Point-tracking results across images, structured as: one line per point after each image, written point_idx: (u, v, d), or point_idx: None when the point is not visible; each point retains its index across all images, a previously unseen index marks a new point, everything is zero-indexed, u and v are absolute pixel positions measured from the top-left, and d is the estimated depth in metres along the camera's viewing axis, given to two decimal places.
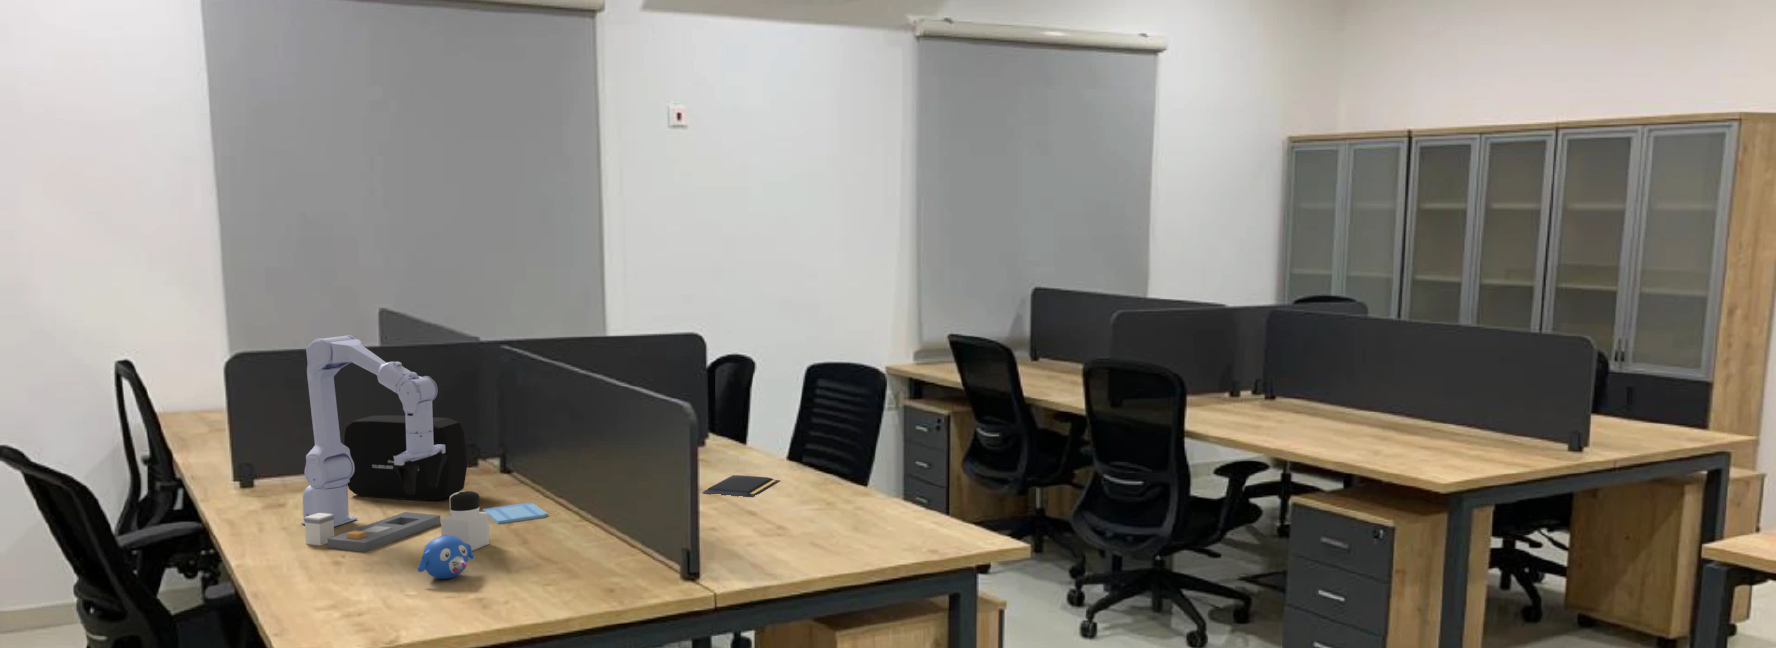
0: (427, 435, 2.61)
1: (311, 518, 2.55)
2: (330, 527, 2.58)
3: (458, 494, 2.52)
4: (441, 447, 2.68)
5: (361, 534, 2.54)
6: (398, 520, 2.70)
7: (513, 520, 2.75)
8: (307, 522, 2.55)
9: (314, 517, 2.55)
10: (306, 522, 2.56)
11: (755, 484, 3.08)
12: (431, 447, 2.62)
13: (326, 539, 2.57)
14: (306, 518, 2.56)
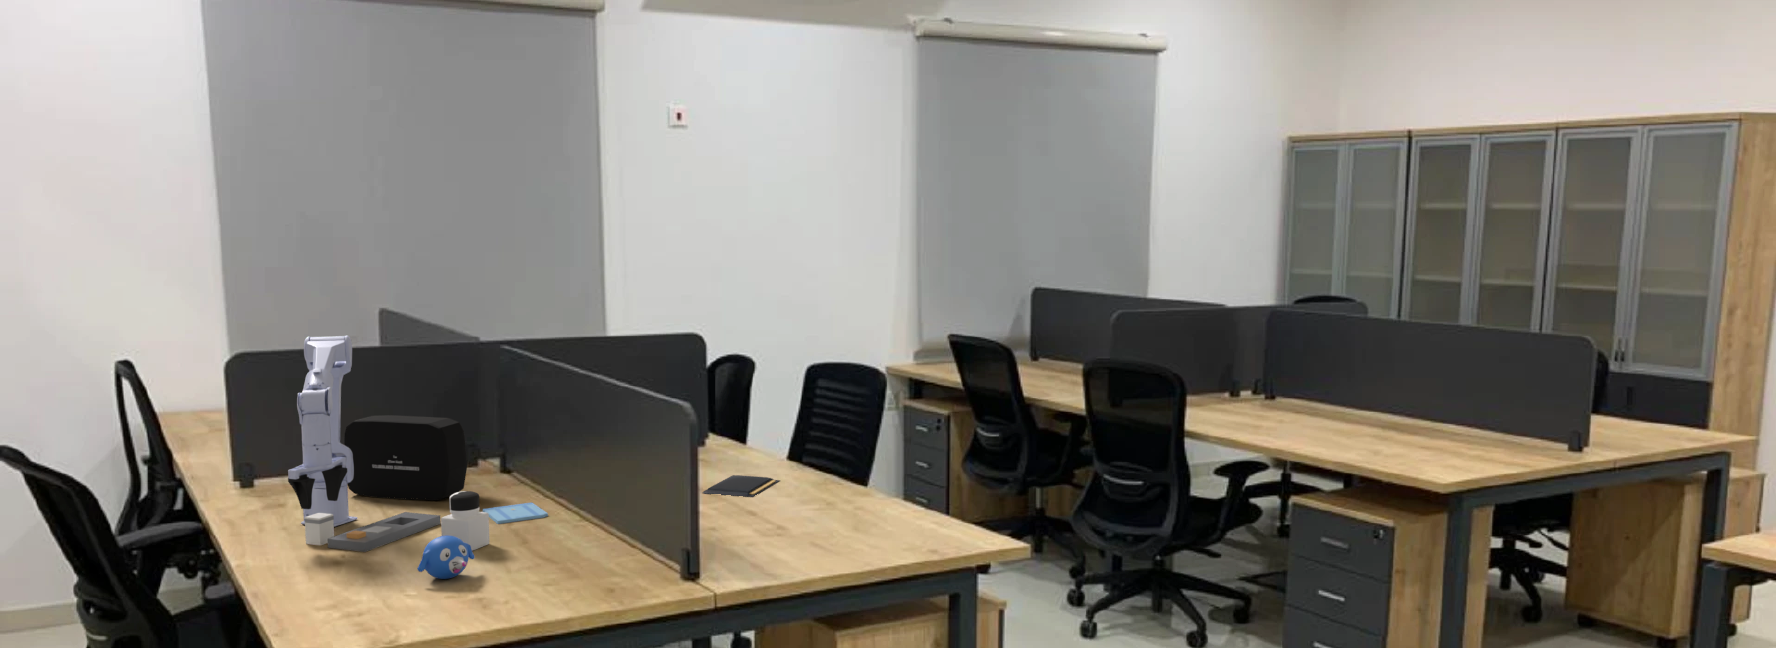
0: (324, 448, 2.54)
1: (311, 518, 2.55)
2: (330, 527, 2.58)
3: (458, 494, 2.52)
4: (341, 460, 2.61)
5: (361, 534, 2.54)
6: (398, 520, 2.70)
7: (513, 520, 2.75)
8: (307, 522, 2.55)
9: (314, 517, 2.55)
10: (306, 522, 2.56)
11: (755, 484, 3.08)
12: (329, 460, 2.55)
13: (326, 539, 2.57)
14: (306, 518, 2.56)
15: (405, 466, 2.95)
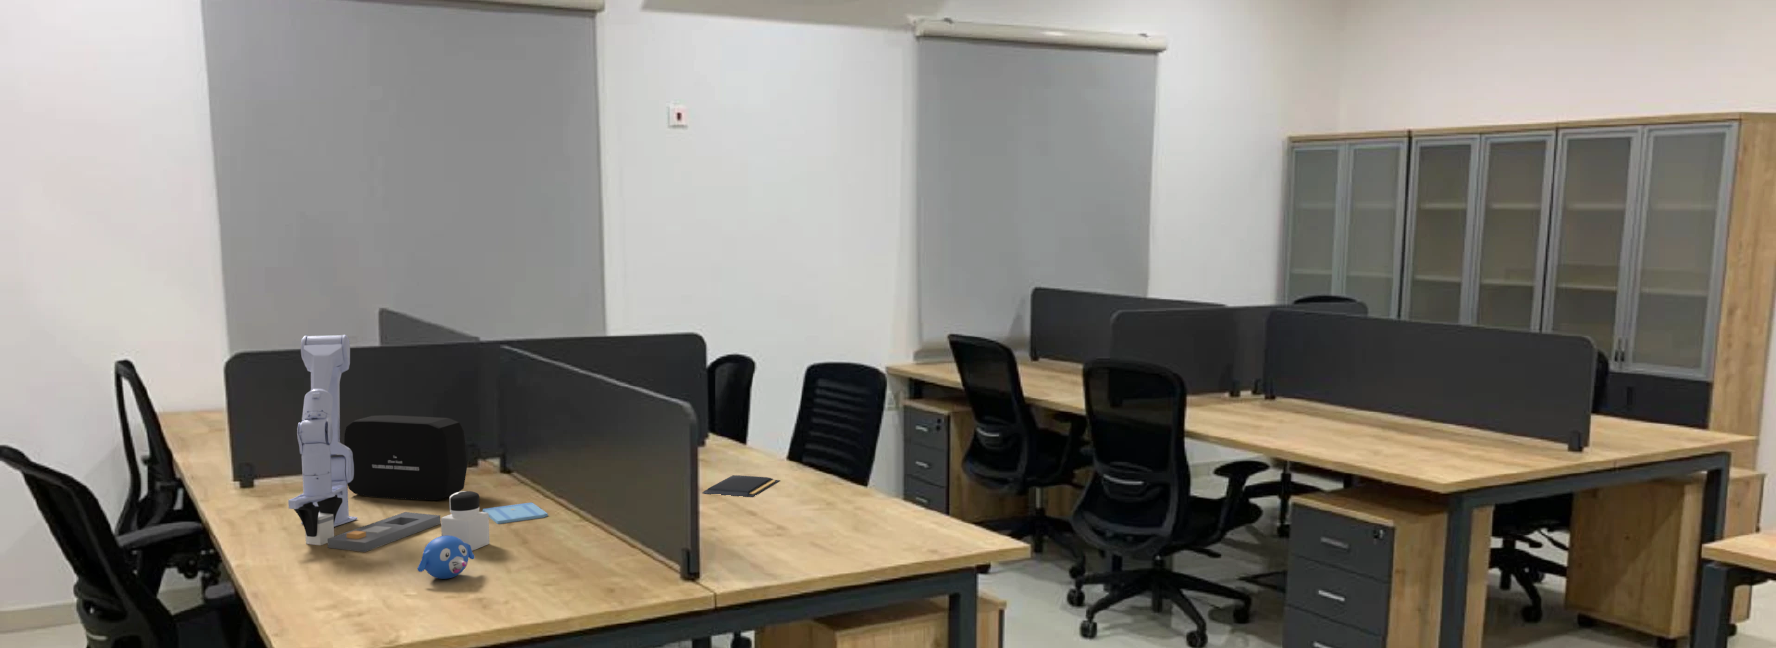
0: (324, 477, 2.55)
1: None
2: (330, 527, 2.58)
3: (458, 494, 2.52)
4: (341, 488, 2.61)
5: (361, 534, 2.54)
6: (398, 520, 2.70)
7: (513, 520, 2.75)
8: None
9: None
10: None
11: (755, 484, 3.08)
12: (329, 489, 2.56)
13: (326, 539, 2.57)
14: None
15: (405, 466, 2.95)
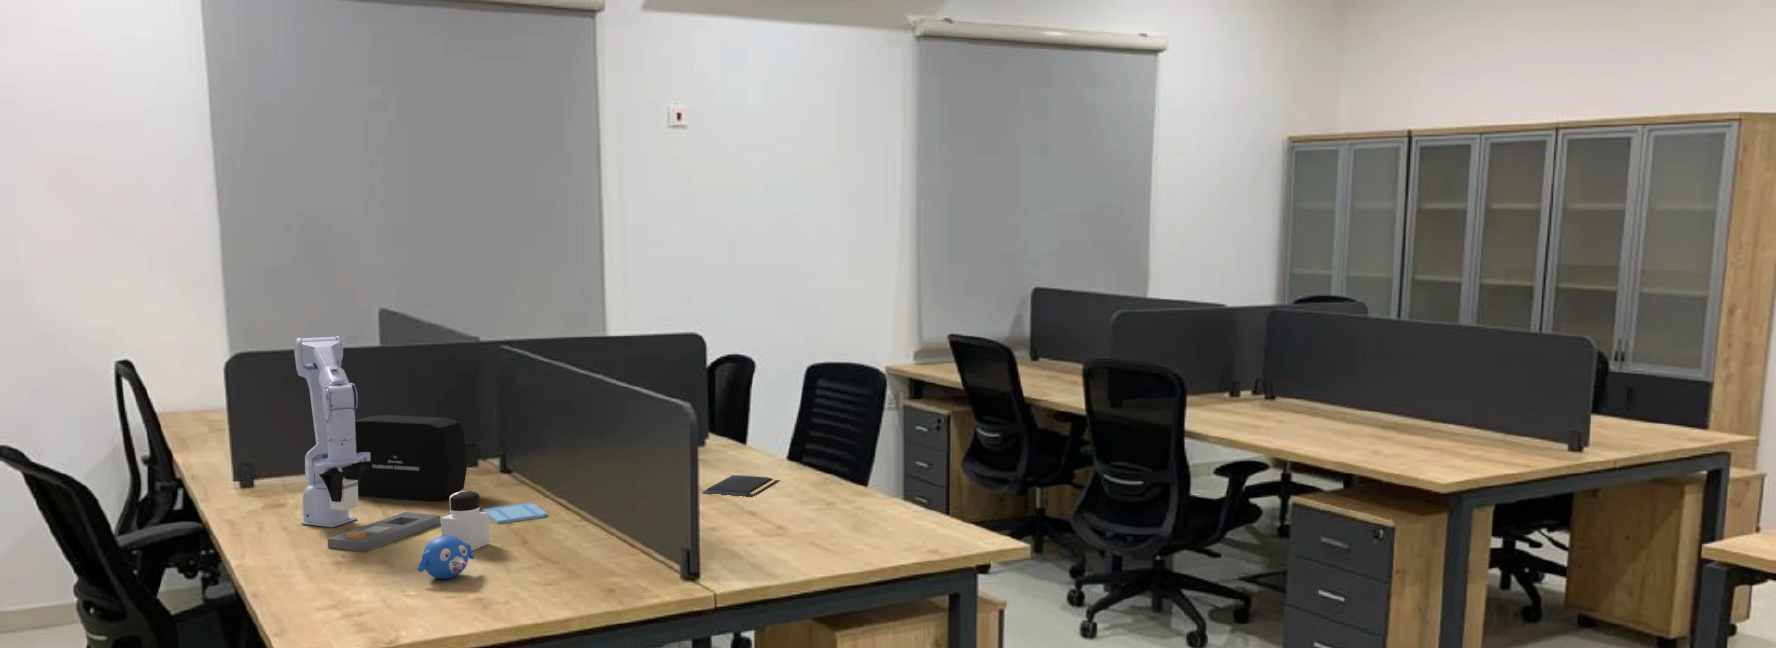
0: (349, 443, 2.57)
1: None
2: (354, 493, 2.60)
3: (458, 494, 2.52)
4: (365, 455, 2.64)
5: (361, 534, 2.54)
6: (398, 520, 2.70)
7: (513, 520, 2.75)
8: None
9: None
10: None
11: (755, 484, 3.08)
12: (353, 455, 2.58)
13: (350, 504, 2.59)
14: None
15: (405, 466, 2.95)
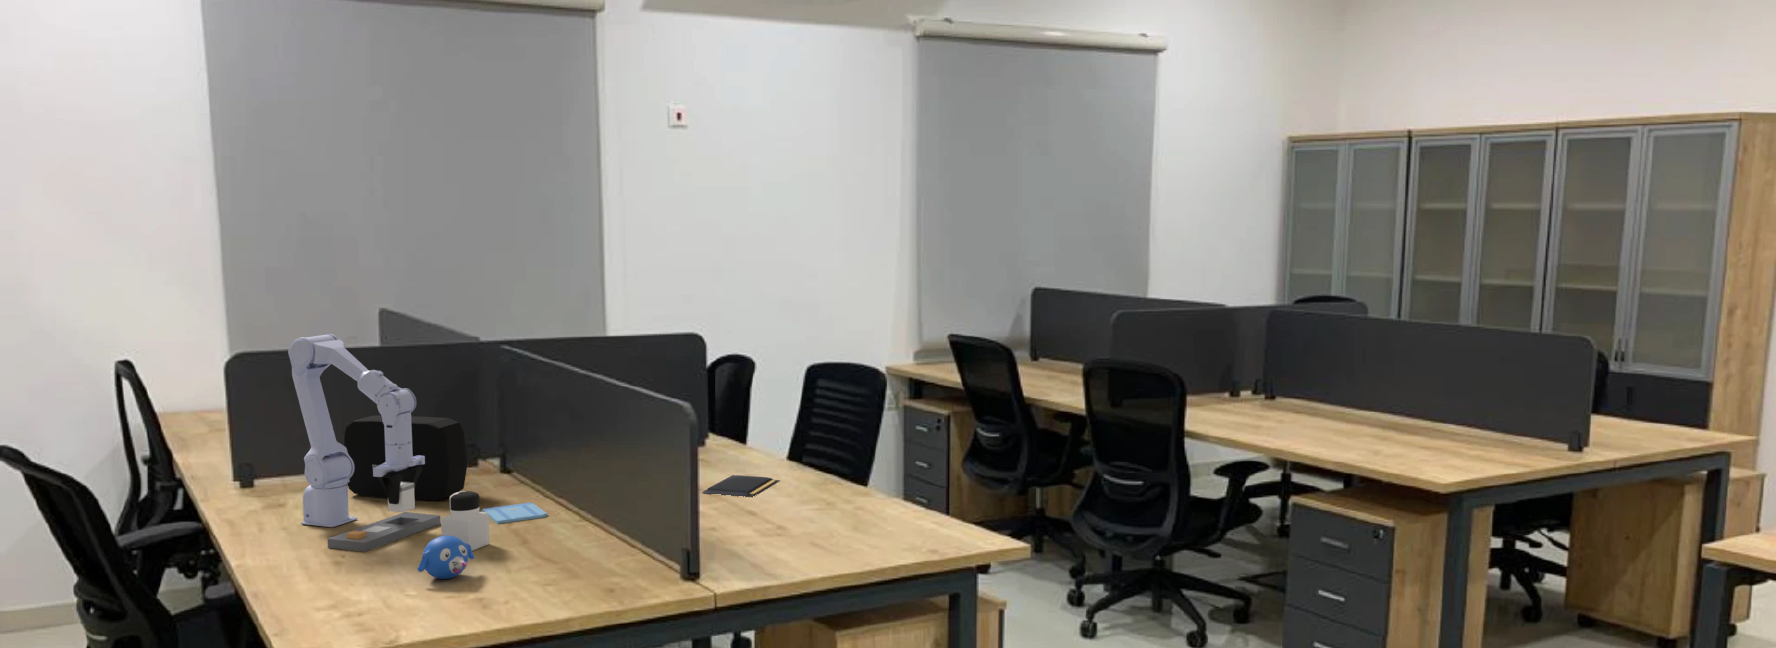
0: (406, 447, 2.64)
1: None
2: (411, 495, 2.67)
3: (458, 494, 2.52)
4: (420, 458, 2.71)
5: (361, 534, 2.54)
6: (398, 520, 2.70)
7: (513, 520, 2.75)
8: None
9: None
10: None
11: (755, 484, 3.08)
12: (410, 458, 2.66)
13: (408, 506, 2.66)
14: None
15: None
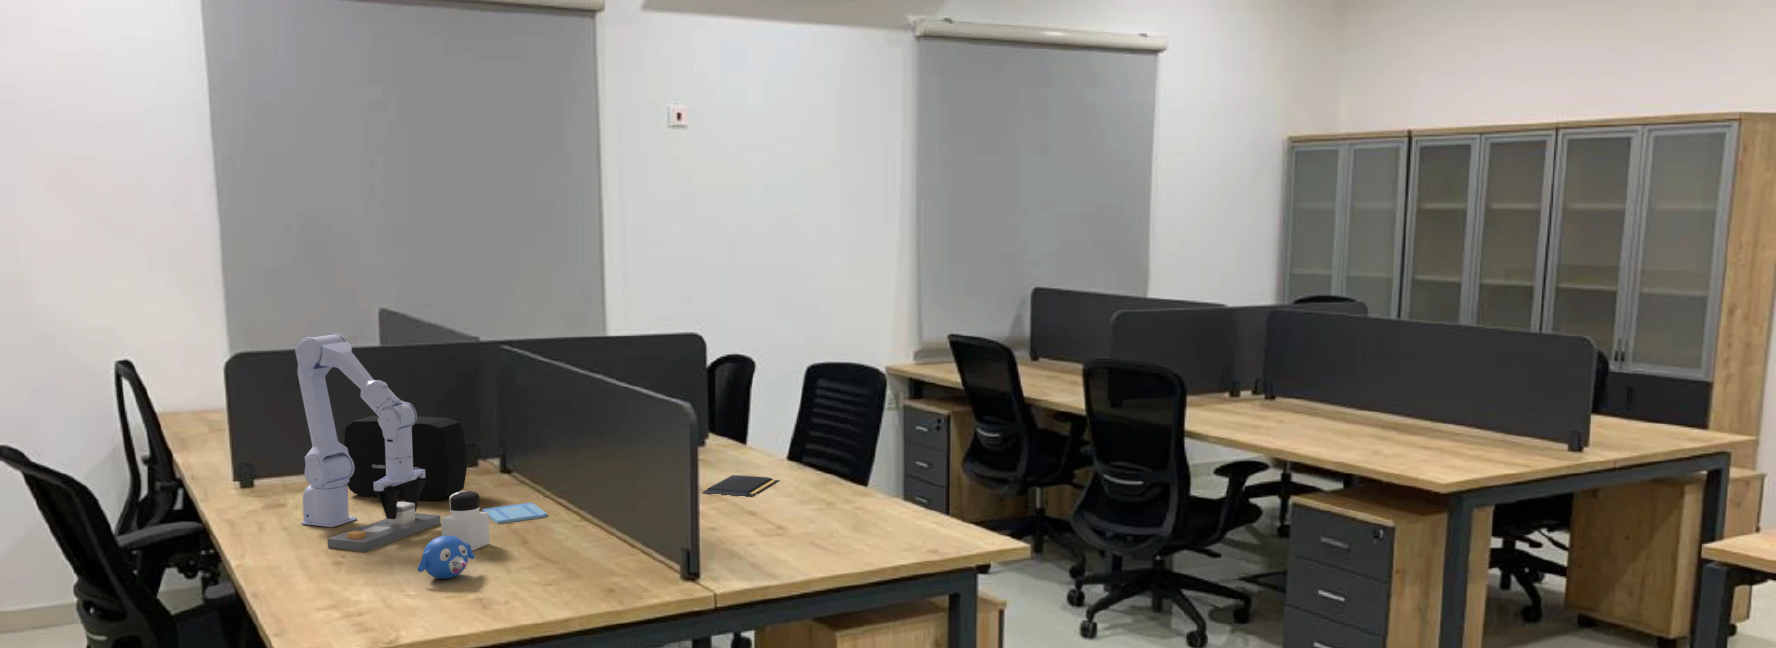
0: (406, 461, 2.65)
1: None
2: (411, 515, 2.68)
3: (458, 494, 2.52)
4: (421, 472, 2.71)
5: (361, 534, 2.54)
6: None
7: (512, 520, 2.75)
8: None
9: (397, 505, 2.66)
10: None
11: (755, 484, 3.08)
12: (410, 472, 2.66)
13: None
14: None
15: None
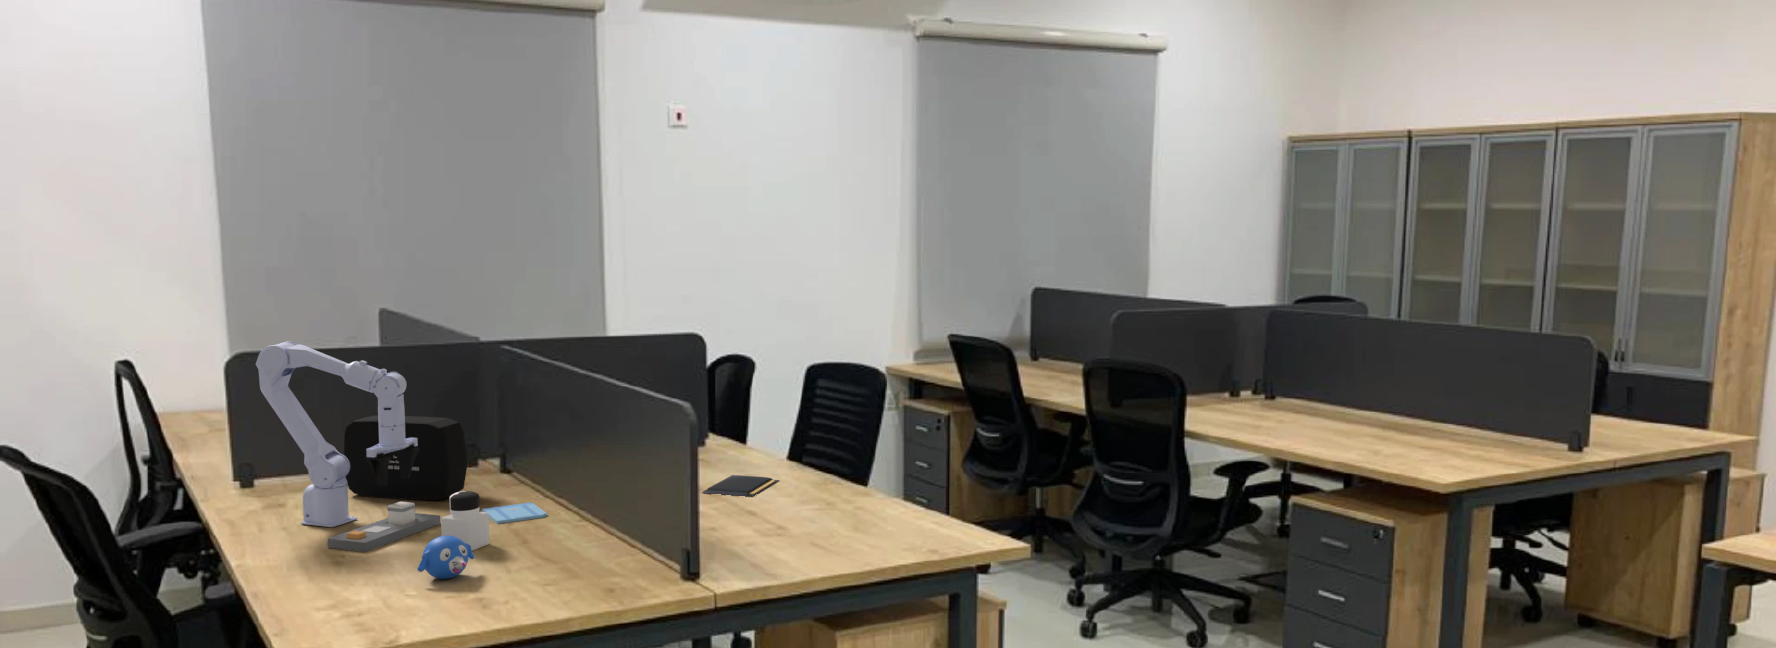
0: (399, 428, 2.72)
1: (394, 506, 2.65)
2: (411, 515, 2.68)
3: (458, 494, 2.52)
4: (413, 440, 2.79)
5: (361, 534, 2.54)
6: None
7: (512, 520, 2.75)
8: (390, 511, 2.66)
9: (397, 506, 2.66)
10: (389, 511, 2.66)
11: (755, 484, 3.08)
12: (403, 440, 2.73)
13: None
14: (389, 506, 2.66)
15: None
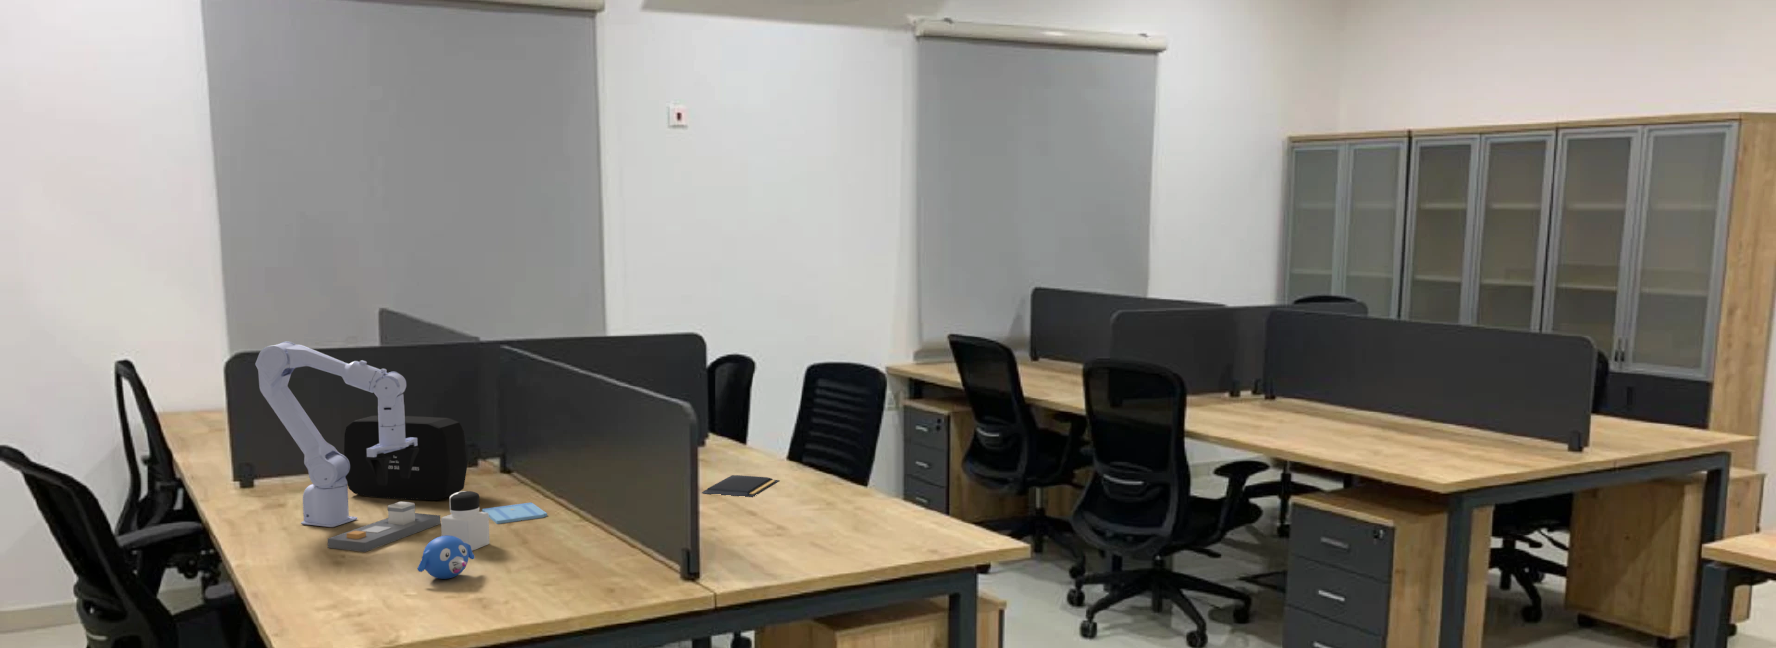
0: (399, 428, 2.72)
1: (394, 506, 2.65)
2: (411, 515, 2.68)
3: (458, 494, 2.52)
4: (413, 440, 2.79)
5: (361, 534, 2.54)
6: None
7: (512, 520, 2.75)
8: (390, 511, 2.66)
9: (397, 506, 2.66)
10: (389, 511, 2.66)
11: (754, 484, 3.08)
12: (403, 440, 2.73)
13: None
14: (389, 506, 2.66)
15: None
